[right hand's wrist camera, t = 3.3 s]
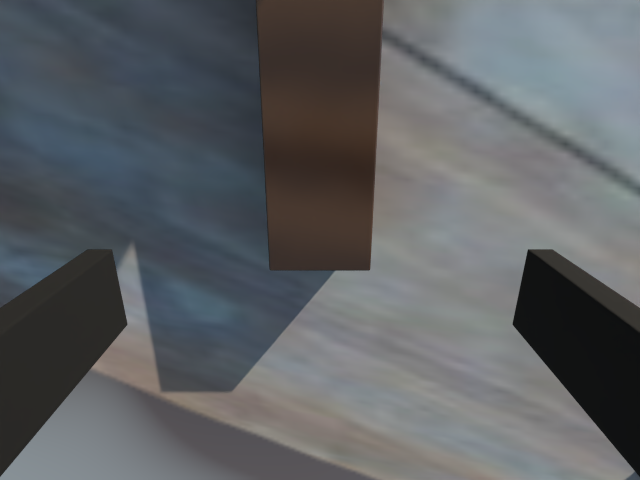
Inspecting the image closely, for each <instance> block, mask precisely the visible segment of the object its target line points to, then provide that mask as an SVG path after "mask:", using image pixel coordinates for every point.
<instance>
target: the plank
mask: <svg viewBox="0 0 640 480" xmlns="http://www.w3.org/2000/svg"><path fill="white" fill-rule="evenodd" d="M383 7H384V0H256V12H257V32H258V51H259V71H260V91H261V110H262V130H263V149H264V169H265V188H266V208H267V228H268V247H269V267H270V270H370V262H371V243H372V223H373V203H374V184H375V164H376V144H377V125H378V105H379V85H380V66H381V46H382V26H383Z"/></svg>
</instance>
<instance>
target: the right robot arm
mask: <svg viewBox="0 0 640 480" xmlns="http://www.w3.org/2000/svg"><path fill="white" fill-rule="evenodd" d="M126 326H127V320H126V315H125V310H124V305H123V300H122V296H121V291H120V286H119V281H118V276H117V271H116V267H115V262H114V257H113V252H112V250H86V251H85V252H83V253H82V254H80V255H79V256H77V257H76V258H74V259H73V260H71V261H70V262H68V263H67V264H65V265H64V266H62V267H61V268H59V269H58V270H56V271H55V272H53V273H52V274H50V275H49V276H47V277H46V278H44V279H43V280H41V281H40V282H38V283H37V284H35V285H34V286H32V287H31V288H29V289H28V290H26V291H25V292H23V293H22V294H20V295H19V296H17V297H16V298H15V299H13V300H12V301H10V302H9V303H7V304H6V305H4V306H3V307H1V308H0V476H1V475H2V474H3V473H4V472H5V470H6V469H7V468H8V467H9V466H10V464H11V463H12V462H13V461H14V460H15V458H16V457H17V456H18V455H19V454H20V452H21V451H22V450H23V449H24V448H25V446H26V445H27V444H28V443H29V442H30V440H31V439H32V438H33V437H34V436H35V434H36V433H37V432H38V431H39V430H40V429H41V427H42V426H43V425H44V424H45V422H46V421H47V420H48V419H49V418H50V417H51V415H52V414H53V413H54V412H55V411H56V409H57V408H58V407H59V406H60V405H61V403H62V402H63V401H64V400H65V399H66V397H67V396H68V395H69V394H70V393H71V391H72V390H73V389H74V388H75V387H76V385H77V384H78V383H79V382H80V381H81V379H82V378H83V377H84V376H85V375H86V373H87V372H88V371H89V370H90V369H91V367H92V366H93V365H94V364H95V363H96V362H97V360H98V359H99V358H100V357H101V356H102V354H103V353H104V352H105V351H106V350H107V348H108V347H109V346H110V345H111V344H112V342H113V341H114V340H115V339H116V338H117V336H118V335H119V334H120V333H121V332H122V330H123V329H124V328H125V327H126ZM513 326H514V327H515V328H516V329H517V330H518V332H519V333H520V334H521V335H522V336H523V338H524V339H525V340H526V341H527V342H528V344H529V345H530V346H531V347H532V348H533V350H534V351H535V352H536V353H537V354H538V356H539V357H540V358H541V359H542V360H543V362H544V363H545V364H546V365H547V366H548V367H549V369H550V370H551V371H552V372H553V373H554V375H555V376H556V377H557V378H558V379H559V381H560V382H561V383H562V384H563V385H564V387H565V388H566V389H567V390H568V391H569V393H570V394H571V395H572V396H573V397H574V399H575V400H576V401H577V402H578V403H579V405H580V406H581V407H582V408H583V409H584V411H585V412H586V413H587V414H588V415H589V417H590V418H591V419H592V420H593V421H594V423H595V424H596V425H597V426H598V427H599V429H600V430H601V431H602V432H603V433H604V434H605V436H606V437H607V438H608V439H609V440H610V442H611V443H612V444H613V445H614V446H615V448H616V449H617V450H618V451H619V452H620V454H621V455H622V456H623V457H624V458H625V460H626V461H627V462H628V463H629V464H630V466H631V467H632V468H633V469H634V470H635V472H636V473H637V474H638V475H639V476H640V308H639V307H637V306H636V305H634V304H633V303H631V302H630V301H628V300H627V299H625V298H624V297H623V296H621V295H620V294H618V293H617V292H615V291H614V290H612V289H611V288H609V287H608V286H606V285H605V284H603V283H602V282H600V281H599V280H597V279H596V278H594V277H593V276H591V275H590V274H588V273H587V272H585V271H584V270H582V269H581V268H579V267H578V266H576V265H575V264H573V263H572V262H570V261H569V260H567V259H566V258H564V257H563V256H561V255H560V254H558V253H557V252H555V251H554V250H528V252H527V257H526V262H525V267H524V271H523V276H522V281H521V286H520V291H519V296H518V300H517V305H516V310H515V315H514V320H513Z"/></svg>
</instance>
